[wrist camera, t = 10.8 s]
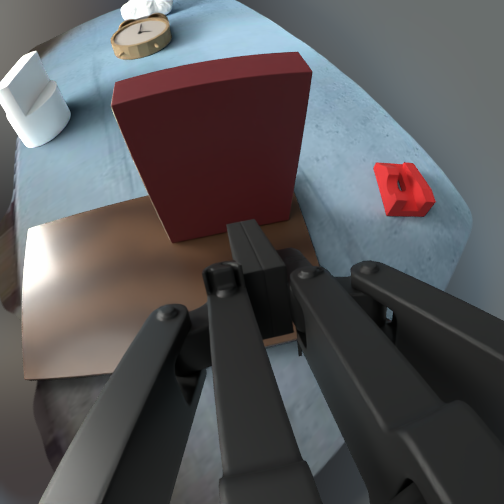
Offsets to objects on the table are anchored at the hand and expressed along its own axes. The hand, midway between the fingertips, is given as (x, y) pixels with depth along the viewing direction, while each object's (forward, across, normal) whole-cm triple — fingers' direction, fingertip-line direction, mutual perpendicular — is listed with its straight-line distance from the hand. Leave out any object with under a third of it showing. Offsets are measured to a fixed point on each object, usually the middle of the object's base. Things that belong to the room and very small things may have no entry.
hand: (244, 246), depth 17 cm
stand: (+11, +8, +5) cm, 15 cm away
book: (+13, 0, +2) cm, 13 cm away
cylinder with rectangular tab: (+32, +25, -15) cm, 43 cm away
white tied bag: (+56, +9, -39) cm, 69 cm away
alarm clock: (+46, +9, -29) cm, 55 cm away
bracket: (+15, -19, +2) cm, 24 cm away
